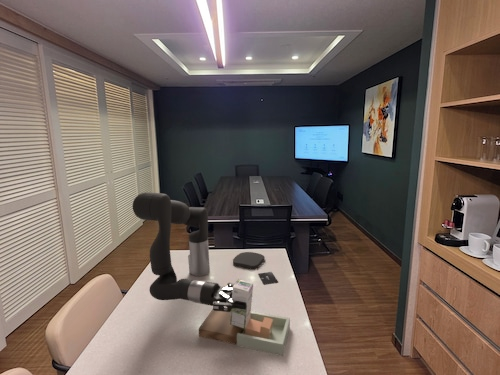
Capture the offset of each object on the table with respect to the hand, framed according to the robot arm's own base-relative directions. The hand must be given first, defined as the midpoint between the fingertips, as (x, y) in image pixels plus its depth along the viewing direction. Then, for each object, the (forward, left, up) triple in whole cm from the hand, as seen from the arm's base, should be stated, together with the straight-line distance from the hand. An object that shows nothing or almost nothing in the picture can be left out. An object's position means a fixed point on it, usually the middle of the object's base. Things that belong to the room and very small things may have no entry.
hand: (249, 300), depth 94 cm
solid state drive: (-3, +38, -13) cm, 41 cm away
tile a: (+2, 0, -12) cm, 12 cm away
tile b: (+4, 0, -9) cm, 10 cm away
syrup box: (-3, 0, -9) cm, 10 cm away
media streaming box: (-17, +52, -13) cm, 56 cm away
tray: (+5, 0, -13) cm, 14 cm away
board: (-9, 0, -13) cm, 16 cm away
